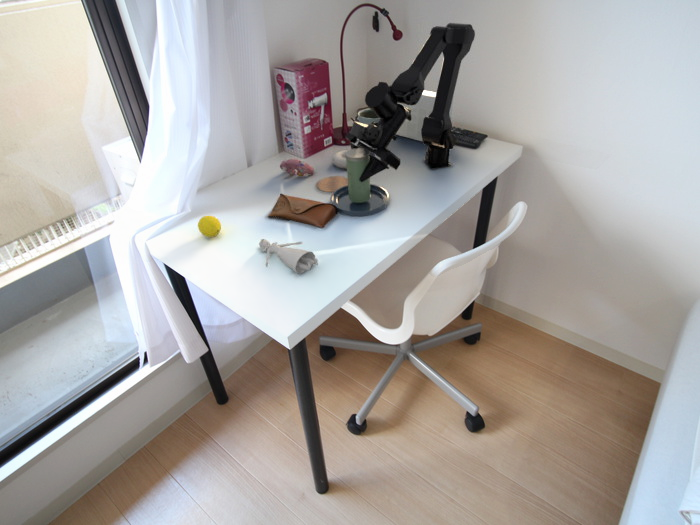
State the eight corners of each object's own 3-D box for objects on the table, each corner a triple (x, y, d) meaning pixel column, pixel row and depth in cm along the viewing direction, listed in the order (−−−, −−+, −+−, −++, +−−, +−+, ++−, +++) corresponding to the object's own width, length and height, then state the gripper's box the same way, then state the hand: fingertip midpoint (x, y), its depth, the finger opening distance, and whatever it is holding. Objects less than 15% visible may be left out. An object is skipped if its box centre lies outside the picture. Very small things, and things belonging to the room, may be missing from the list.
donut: (362, 170, 136) (365, 157, 144) (362, 160, 134) (364, 147, 142) (331, 171, 137) (335, 157, 145) (330, 161, 135) (334, 147, 143)
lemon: (196, 235, 112) (190, 217, 108) (214, 226, 115) (208, 208, 111) (210, 244, 108) (205, 226, 104) (229, 235, 111) (224, 217, 107)
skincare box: (450, 142, 150) (454, 95, 140) (441, 147, 147) (445, 99, 137) (402, 129, 162) (403, 85, 152) (393, 134, 159) (393, 89, 149)
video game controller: (283, 178, 138) (275, 164, 132) (288, 167, 140) (281, 152, 134) (311, 182, 135) (304, 168, 129) (316, 170, 137) (309, 156, 130)
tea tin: (368, 190, 122) (366, 146, 114) (373, 200, 117) (371, 155, 109) (346, 193, 121) (343, 149, 113) (350, 204, 116) (347, 159, 108)
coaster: (347, 176, 134) (346, 174, 133) (353, 190, 126) (353, 188, 125) (315, 180, 132) (314, 178, 132) (319, 195, 125) (319, 193, 124)
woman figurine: (292, 270, 90) (240, 246, 100) (296, 287, 92) (244, 262, 103) (330, 244, 97) (277, 224, 107) (332, 261, 99) (280, 239, 110)
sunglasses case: (265, 216, 116) (268, 191, 115) (279, 217, 122) (282, 193, 121) (324, 229, 109) (328, 203, 108) (335, 228, 116) (339, 204, 115)
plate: (380, 186, 127) (380, 179, 126) (395, 212, 115) (395, 206, 113) (327, 193, 125) (326, 187, 124) (336, 222, 113) (335, 215, 111)
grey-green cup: (357, 143, 154) (356, 109, 146) (385, 140, 154) (385, 107, 147) (361, 155, 145) (360, 119, 138) (391, 152, 146) (391, 116, 139)
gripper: (349, 99, 113) (316, 151, 115) (390, 118, 100) (353, 175, 102) (374, 122, 120) (343, 169, 123) (416, 142, 107) (380, 195, 110)
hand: (354, 176), depth 114 cm, fingers closed on tea tin, 6 cm apart
